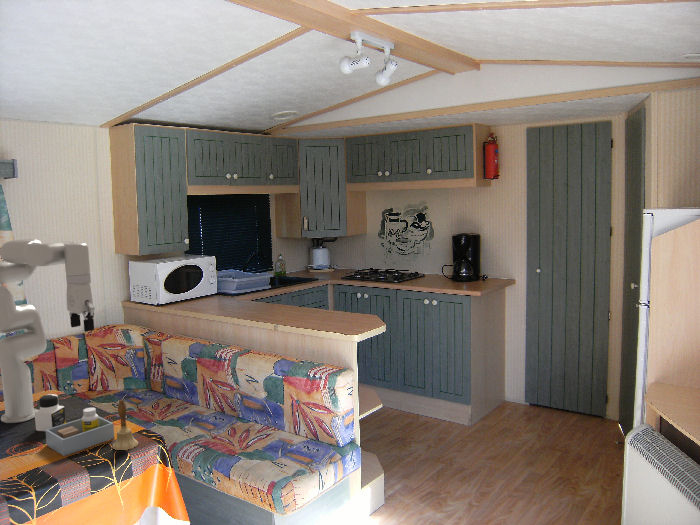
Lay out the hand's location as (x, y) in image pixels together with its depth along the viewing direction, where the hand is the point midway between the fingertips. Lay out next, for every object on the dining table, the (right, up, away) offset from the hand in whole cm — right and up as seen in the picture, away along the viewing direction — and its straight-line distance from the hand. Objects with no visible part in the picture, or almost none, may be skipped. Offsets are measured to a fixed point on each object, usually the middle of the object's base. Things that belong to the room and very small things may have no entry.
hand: (82, 328), depth 204 cm
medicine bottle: (-17, -38, +12) cm, 43 cm away
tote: (0, -39, -1) cm, 39 cm away
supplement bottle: (+2, -38, +2) cm, 38 cm away
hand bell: (+16, -39, -4) cm, 43 cm away
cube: (-3, -39, -4) cm, 39 cm away
